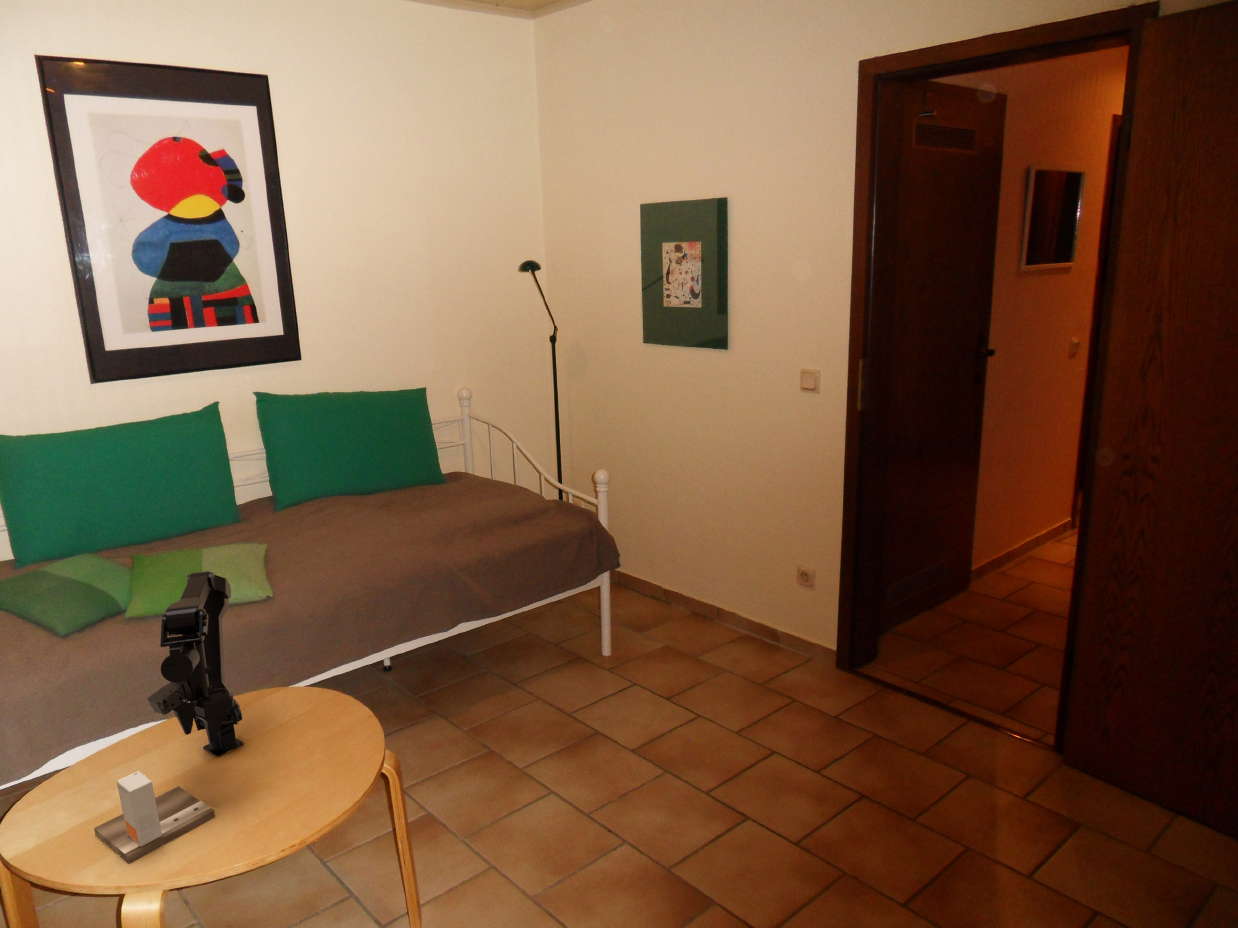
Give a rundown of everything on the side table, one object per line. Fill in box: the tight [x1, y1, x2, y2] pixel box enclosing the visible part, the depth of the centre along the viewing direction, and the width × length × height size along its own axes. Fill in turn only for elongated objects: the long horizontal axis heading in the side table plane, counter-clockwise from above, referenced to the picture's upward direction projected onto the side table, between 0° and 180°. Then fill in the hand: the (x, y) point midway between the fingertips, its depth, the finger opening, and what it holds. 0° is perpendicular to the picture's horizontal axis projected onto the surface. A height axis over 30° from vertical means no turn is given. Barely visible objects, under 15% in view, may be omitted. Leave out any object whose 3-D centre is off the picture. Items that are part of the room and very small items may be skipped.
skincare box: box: [116, 770, 162, 847], centre depth 162 cm, size 6×4×12 cm
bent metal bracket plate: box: [93, 785, 216, 864], centre depth 169 cm, size 14×16×2 cm
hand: (200, 738), depth 177 cm, fingers open, 9 cm apart
